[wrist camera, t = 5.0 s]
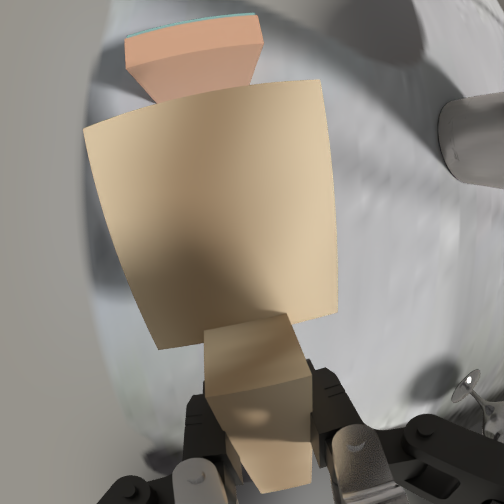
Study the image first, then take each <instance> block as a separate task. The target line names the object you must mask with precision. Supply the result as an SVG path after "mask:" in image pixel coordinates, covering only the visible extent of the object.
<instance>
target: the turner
mask: <svg viewBox="0 0 504 504" xmlns="http://www.w3.org/2000/svg"><path fill="white" fill-rule="evenodd" d="M83 133H84V138H85V143H86V148H87V152H88V157H89V161H90V165H91V169H92V173H93V177H94V181H95V185H96V189H97V192H98V196H99V200H100V203H101V206H102V210H103V213H104V216H105V220H106V223H107V226H108V229H109V232H110V235H111V238H112V241H113V244H114V247H115V250H116V252H117V255H118V258H119V261H120V263H121V266H122V269H123V271H124V274H125V276H126V279H127V281H128V284H129V286H130V289H131V291H132V294H133V296H134V298H135V301H136V303H137V305H138V308H139V310H140V312H141V314H142V317H143V319H144V321H145V323H146V325H147V328H148V330H149V332H150V334H151V336H152V338H153V340H154V342H155V344H156V346H157V348H158V350H162V349H169V348H175V347H182V346H188V345H194V344H200V343H204V373H205V398H206V400H207V402H208V404H209V406H210V408H211V409H212V411H213V413H214V415H215V417H216V419H217V421H218V423H219V424H220V426H221V428H222V430H223V431H225V432H226V434H227V436H228V437H229V439H230V441H231V443H232V445H233V446H234V448H235V450H236V452H237V453H238V455H239V457H240V461H241V463H242V464H243V466H244V467H245V469H246V471H247V472H248V474H249V475H250V477H251V478H252V480H253V482H254V483H255V485H256V486H257V487H258V489H259V490H260V492H261V493H268V492H273V491H278V490H283V489H288V488H292V487H297V486H301V485H305V484H308V483H311V472H312V445H311V443H310V413H311V412H312V374H311V371H310V369H309V366H308V364H307V361H306V359H305V357H304V354H303V352H302V349H301V347H300V344H299V342H298V339H297V337H296V335H295V332H294V330H293V327H292V325H291V324H295V323H299V322H303V321H307V320H311V319H315V318H319V317H322V316H326V315H330V314H333V313H337V312H338V260H337V231H336V212H335V197H334V184H333V173H332V163H331V153H330V144H329V136H328V128H327V121H326V114H325V107H324V100H323V94H322V88H321V82H320V80H300V81H285V82H273V83H263V84H255V85H247V86H240V87H233V88H227V89H221V90H215V91H210V92H205V93H200V94H195V95H190V96H186V97H181V98H177V99H173V100H169V101H165V102H161V103H158V104H154V105H151V106H147V107H144V108H140V109H137V110H134V111H131V112H127V113H124V114H121V115H118V116H116V117H113V118H110V119H107V120H104V121H102V122H99V123H96V124H94V125H91V126H89V127H86V128H84V129H83Z"/></svg>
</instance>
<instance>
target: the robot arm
mask: <svg viewBox="0 0 504 504" xmlns="http://www.w3.org/2000/svg"><path fill="white" fill-rule="evenodd" d="M438 133H439V142H440V147H441V151H442V154H443V157H444V160H445V162H446V164H447V166H448V168H449V170H450V171H451V173H452V174H453V175H454V176H455V177H456V178H457V179H458V180H460V181H461V182H463V183H467V184H473V185H481V186H488V187H493V188H499V189H504V92H499V93H492V94H486V95H480V96H474V97H468V98H463V99H458V100H453V101H450V102H448V103H447V104H446V105H445V106H444V107H443V109H442V111H441V114H440V118H439V126H438ZM306 361H307V364H308V366H309V369H310V371H311V374H312V412H311V413H310V443H311V445H312V448H313V451H314V454H315V457H316V459H317V462H318V465H319V468H323V467H326V466H327V468H328V470H329V473H330V482H331V488H332V493H333V499H334V504H409V501H408V499H407V496H406V493H405V491H404V489H403V488H402V487H404V488H406V489H407V490H409V491H411V492H413V493H415V494H416V495H418V496H420V497H422V498H424V499H426V500H428V501H430V502H432V503H434V504H504V443H502V442H499V441H496V440H494V439H491V438H488V437H486V436H483V435H481V434H478V433H476V432H473V431H471V430H468V429H466V428H464V427H461V426H459V425H456V424H454V423H452V422H450V421H447V420H445V419H443V418H440V417H438V416H436V415H433V414H422V415H418V416H416V417H414V418H413V419H411V420H410V421H409V422H408V423H407V425H406V427H404V428H398V429H392V430H376V429H373V428H371V427H369V426H367V425H366V424H365V423H364V422H363V421H362V420H361V418H360V416H359V414H358V413H357V411H356V409H355V407H354V406H353V404H352V402H351V400H350V399H349V397H348V395H347V393H345V390H344V388H343V386H342V385H341V383H340V381H339V379H338V378H337V376H336V374H335V373H333V372H332V371H330V370H329V369H327V368H326V367H325V368H322V369H318V370H315V369H314V367H313V365H312V363H311V361H310V359H306ZM185 426H186V427H185V432H184V446H183V459H182V462H181V463H180V464H178V465H177V466H176V468H175V469H174V471H173V473H172V474H171V475H169V476H166V477H163V478H160V479H156V480H152V481H149V482H146V481H145V480H144V479H142V478H141V477H138V476H132V475H129V476H124V477H121V478H120V479H118V480H117V481H116V482H115V483H114V484H113V485H112V486H111V488H110V489H109V490H108V491H107V492H106V493H105V495H104V496H103V497H102V498H101V499H100V501H99V502H98V503H97V504H239V503H238V500H237V497H236V488H235V486H236V485H243V479H242V471H241V463H240V457H239V455H238V453H237V452H236V450H235V448H234V446H233V445H232V443H231V441H230V439H229V437H228V436H227V434H226V432H225V431H223V430H222V428H221V426H220V424H219V423H218V421H217V419H216V417H215V415H214V413H213V411H212V409H211V408H210V406H209V404H208V402H207V400H206V398H205V381H204V382H203V394H199V395H193V396H192V398H191V399H190V401H189V402H188V404H187V408H186V420H185ZM395 483H397V484H399V485H400V486H399V485H396V484H395ZM401 486H402V487H401Z"/></svg>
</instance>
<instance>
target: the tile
mask: <svg viewBox="0 0 504 504" xmlns="http://www.w3.org/2000/svg"><path fill="white" fill-rule="evenodd" d="M263 45H264V41H263V37H262V32H261V28H260V23H259V19H258V15H255V13H241V14H230V15H221V16H213V17H206V18H199V19H193V20H188V21H183V22H178V23H173V24H169V25H164V26H160V27H156V28H152V29H148V30H145V31H141V32H138V33H134V34H131V35H128V36H127V38H126V39H125V63H126V70H127V71H128V72H129V73H130V74H131V75H132V76H133V77H134V78H135V80H136V81H137V82H138V83H139V84H140V85H141V86H142V87H143V88H144V90H145V91H146V92H147V93H148V94H149V95H150V96H151V97H152V99H153V100H154V101H155V102H156V103H157V104H158V103H161V102H165V101H169V100H173V99H177V98H181V97H186V96H190V95H195V94H200V93H205V92H210V91H215V90H221V89H227V88H233V87H240V86H247V85H250V82H251V79H252V76H253V73H254V70H255V67H256V64H257V62H258V59H259V56H260V53H261V50H262V48H263Z"/></svg>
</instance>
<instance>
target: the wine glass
mask: <svg viewBox="0 0 504 504" xmlns="http://www.w3.org/2000/svg"><path fill="white" fill-rule="evenodd" d="M479 378H480V370H474V371H473V372H471V373H470V374H469V375H467V376H466V377H465V378H464V379H463V381H462V382H461V383H460V384H459V386H458V387H457V388H456V390H455V392H454V394H453V396H452V402H453V403H457V402H459V401H461V400H462V399H464V398H465V397H466V396H467V395H468V394H469V393H470V394H471V395H472V396H473V397H474V398H475V399H476V400H477V402H478V403H479V405H480V406H481V408H482V411H483V424H482V433H483V436H486V437H488V438H491V439H494V440H496V441H499V442H502V443H504V401H501V402H488V401H486V400H484V399H483V398H481V397H480V396H479V395H478V394H477V393H476V392H475V391H474V390H473V388H474V387H475V385H476V384H477V382H478V380H479Z"/></svg>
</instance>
